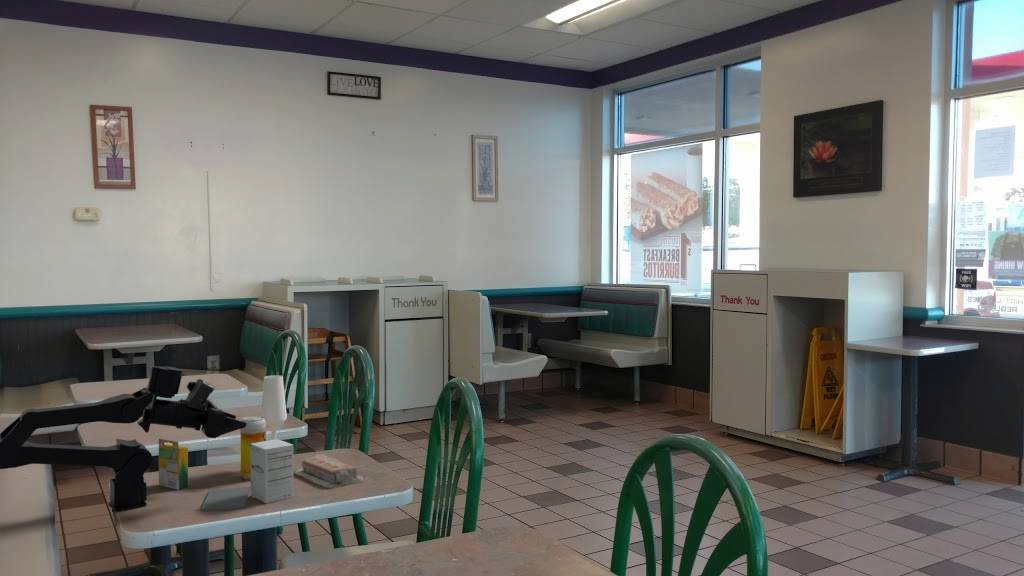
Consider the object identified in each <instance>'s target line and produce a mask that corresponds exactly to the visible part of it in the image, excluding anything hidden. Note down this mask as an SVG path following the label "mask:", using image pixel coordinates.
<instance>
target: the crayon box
mask: <svg viewBox="0 0 1024 576" xmlns="http://www.w3.org/2000/svg"><path fill="white" fill-rule="evenodd" d="M165 443H166V444H165ZM158 486H159V487H165V488H168V489H169V488H171V489H173V490H176V491H179V490H183V489H185V488H188V487H189V447H187V446H181V445H179V441H174V440H169V439H164V438H158Z"/></svg>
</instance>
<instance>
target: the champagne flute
mask: <svg viewBox="0 0 1024 576" xmlns="http://www.w3.org/2000/svg"><path fill="white" fill-rule="evenodd" d="M284 386H285V383H284V377H283V375H279V374H278V375H275V374H274V375H266V376H263V386H262V396H261V406H260V407H261V408H260V416H262V417H264V419H265V421H266V429H268V430H270V431H271V440H274V439H277V431H278V430H279V429H280V428H281V427H282V426H283V425H284V424H285V423H286V420H287V419H288V416H287V407H286V396H285V387H284Z"/></svg>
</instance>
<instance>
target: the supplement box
mask: <svg viewBox="0 0 1024 576" xmlns="http://www.w3.org/2000/svg"><path fill="white" fill-rule="evenodd" d="M250 497H251V498H254V499H256V500H259V501H261V502H263V503H264V504H271V503H274V502H279V501H282V500H286V499H291V498H293V497H294V444H292V443H290V442H286V441H284V440H281V439H278V438H276V439H274V440H272V439H269V440H266V441H263V442H258V443H252V444H251V479H250Z"/></svg>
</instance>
